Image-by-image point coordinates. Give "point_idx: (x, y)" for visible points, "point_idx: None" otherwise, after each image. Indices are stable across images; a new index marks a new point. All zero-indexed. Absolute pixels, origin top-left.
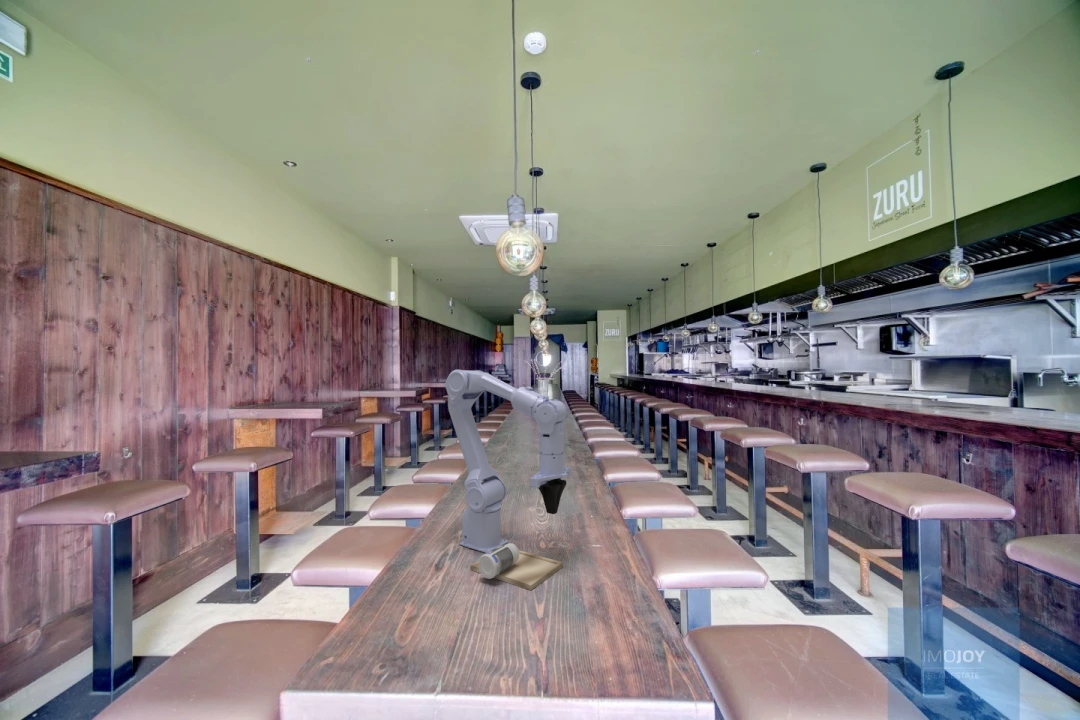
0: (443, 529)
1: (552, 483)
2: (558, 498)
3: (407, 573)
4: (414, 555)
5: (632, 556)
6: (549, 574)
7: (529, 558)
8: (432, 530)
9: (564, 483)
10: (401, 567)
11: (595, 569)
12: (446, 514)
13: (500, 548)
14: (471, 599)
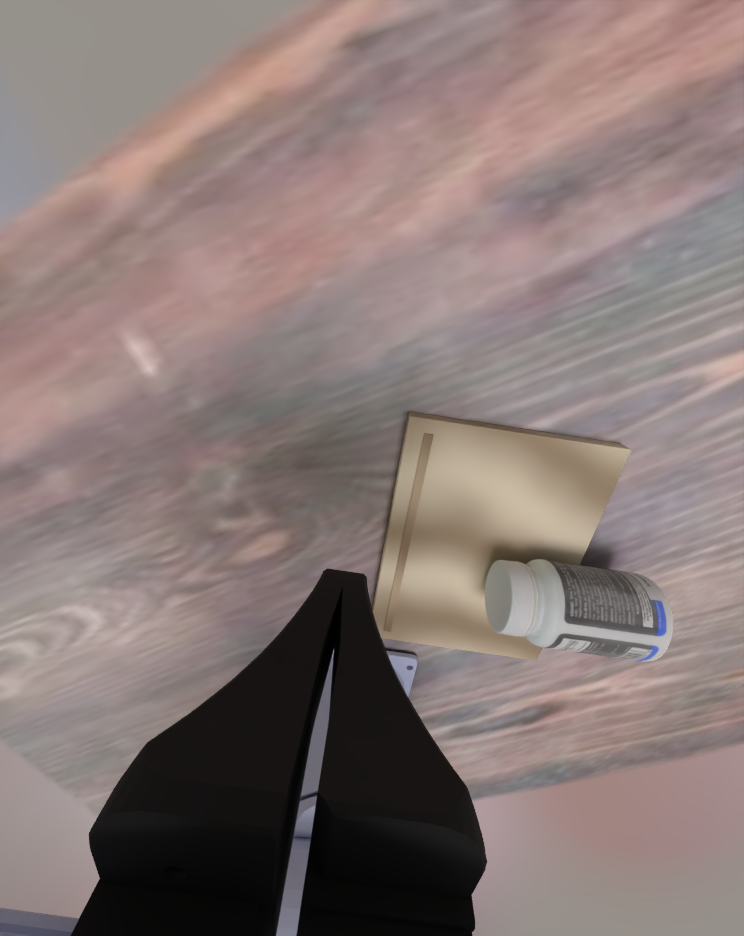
0: None
1: (385, 907)
2: (318, 644)
3: (593, 747)
4: (495, 777)
5: (146, 129)
6: (507, 428)
7: (426, 536)
8: None
9: (221, 791)
10: (566, 769)
11: (371, 274)
12: None
13: (594, 635)
14: (705, 571)
